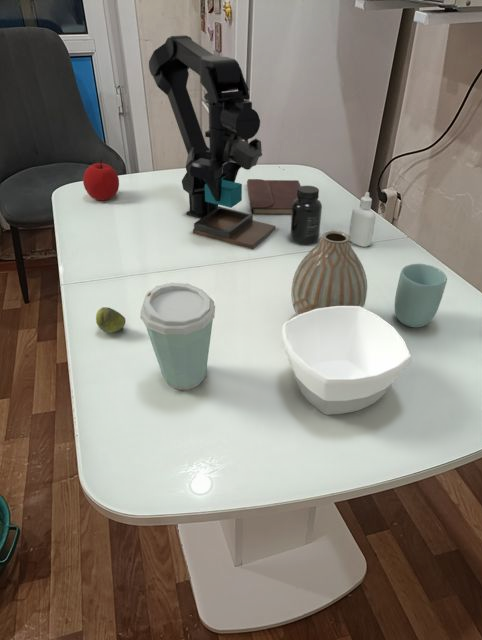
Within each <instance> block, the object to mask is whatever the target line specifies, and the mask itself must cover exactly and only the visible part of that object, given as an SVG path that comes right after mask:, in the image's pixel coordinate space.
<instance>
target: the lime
mask: <svg viewBox="0 0 482 640" xmlns="http://www.w3.org/2000/svg"><path fill="white" fill-rule="evenodd" d="M126 322H127V320H126V317H125V316H123V314H121V313H120V312H119V311H117V310H115V309H113V308H111V307H108V306H107V307H100V308H99V309H98V310H97V311H96V315H95V323H96V325H97V327H98V328H99V329H100V330H101V331H103V332H104V333H115V332H118V331H120V330H122V329H123V328H124V327H125V325H126Z"/></svg>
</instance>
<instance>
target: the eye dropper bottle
mask: <svg viewBox="0 0 482 640" xmlns="http://www.w3.org/2000/svg"><path fill="white" fill-rule="evenodd" d="M372 201H373V199H372V197H370V192H369V191H366V192H365V194H364V196H362V197H361V198H360V202H359V206H356V207H353V209H352V210H351V211H352V212H351V218H350V224H349V230H348V235H349V237H350V243H352V244H354V245H356V246H359V247H362V248H365V247H366V248H367V247H369V246H370V245H372V241H373V236H374V230H375V224H376V220H377V219H376V218H377V215H376V213H375V211H374V210H373V209H371V208H372Z"/></svg>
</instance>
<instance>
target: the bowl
mask: <svg viewBox="0 0 482 640" xmlns="http://www.w3.org/2000/svg"><path fill="white" fill-rule="evenodd" d="M280 332H281V340H282V345H283V348H284V351H285V353H286V356H287V359H288V362H289V365H290V367H291V369H292V373H293V376H294V379H295V382H296V385H297V387H298V389H299V391H300V392H301V395H302V396H303V397H304V398H305V399H306V400H307V401H308V402H309V403H310V404H311V405H312V406H313V408H315V409H317V410H318V411H319V412H320V413H322V414H323V415H343V414H349V413H354V412H358V411H360V410H363V409H365V408H367V407H369V406H371V405H373V404H375V403H376V402H377V401H379V400H380V399H381V398H382V397H383V396H384V394H385V393H386V392H387V391H388V389H389V388H390V387H391V386H392V385H393V383H394V382H395V381H396V380H397V379H398V378H399V376H400V375H402V373H403V372H404V371H405V369H406V368H407V367H408V366H409V365H410V363H411V362H412V356H411V353H410V351H409V348H408V346H407V344H406V342H405V339H403V337H402V336H401V334H400V333H399V331H397V330H396V328H395V327H394V326H393V325H391V324H390V323H389V322H387V321H386V320H384V319H383V318H382V317H381V316H379V315H378V314H376V313H374V312H372V311H370V310H368V309H367V308H365V307H364V308H362V307H360V306H334V307H326V308H318V309H315V310H312V311H309V312H306V313H303V314H300V315H297V314H296V316H294V317H292V318H290V319H288V320H287V321H285V322H283V324H282V325H281V328H280Z"/></svg>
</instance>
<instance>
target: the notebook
mask: <svg viewBox="0 0 482 640" xmlns="http://www.w3.org/2000/svg"><path fill="white" fill-rule="evenodd" d="M246 185H247V193H248V199H249V207H250V214H252V215H291V214H292V203H293V202H294V200H295V199H297V189H298V188H299V187H301V186H302V185H301V183H300V181H299V180H296V179H293V180H292V179H291V180H290V179H261V178H252V179H251V178H247V181H246Z"/></svg>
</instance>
